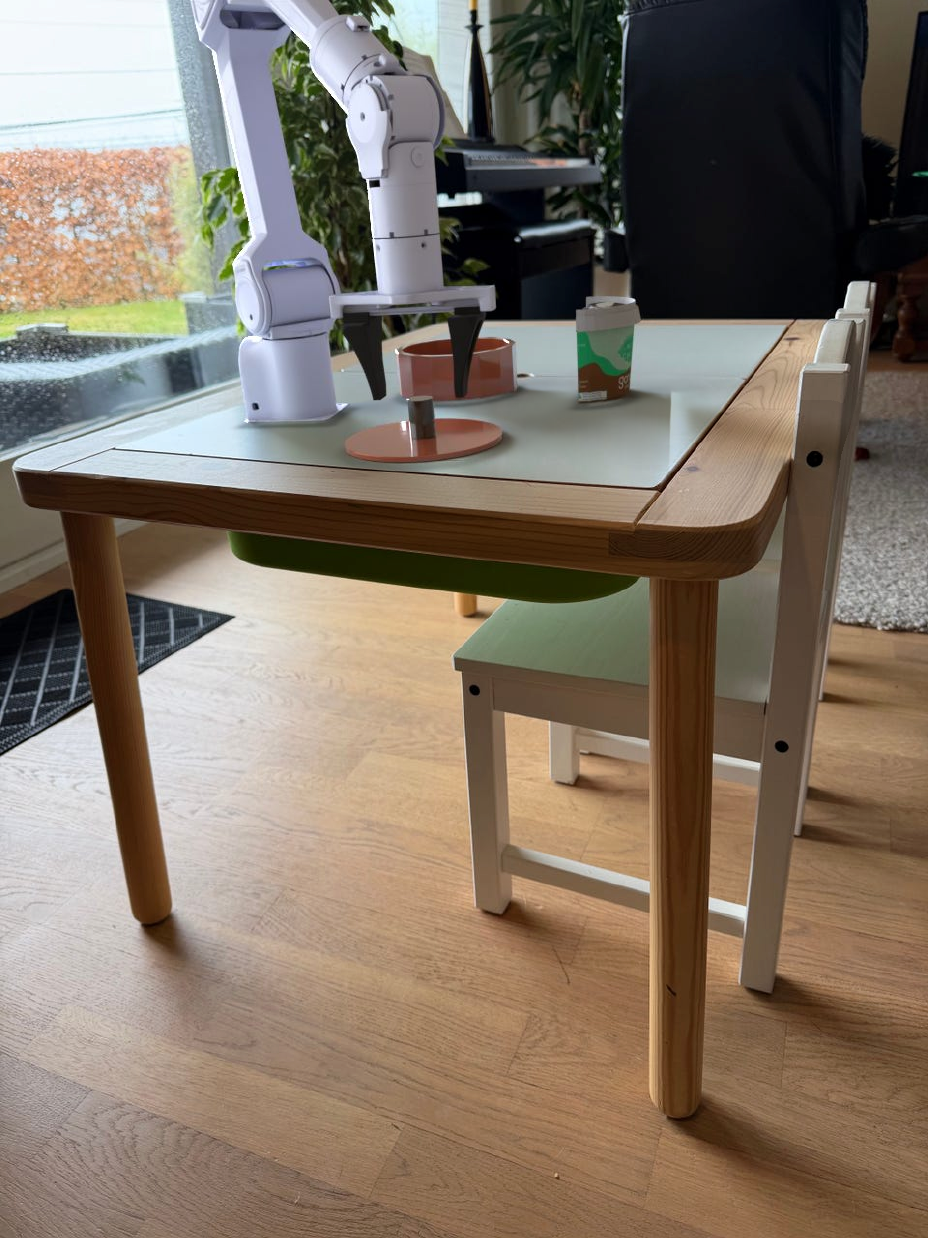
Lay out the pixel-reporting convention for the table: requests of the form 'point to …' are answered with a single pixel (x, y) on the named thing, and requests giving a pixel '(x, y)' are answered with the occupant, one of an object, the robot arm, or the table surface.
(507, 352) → the tin
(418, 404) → the cover
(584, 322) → the food container
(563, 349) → the table surface
